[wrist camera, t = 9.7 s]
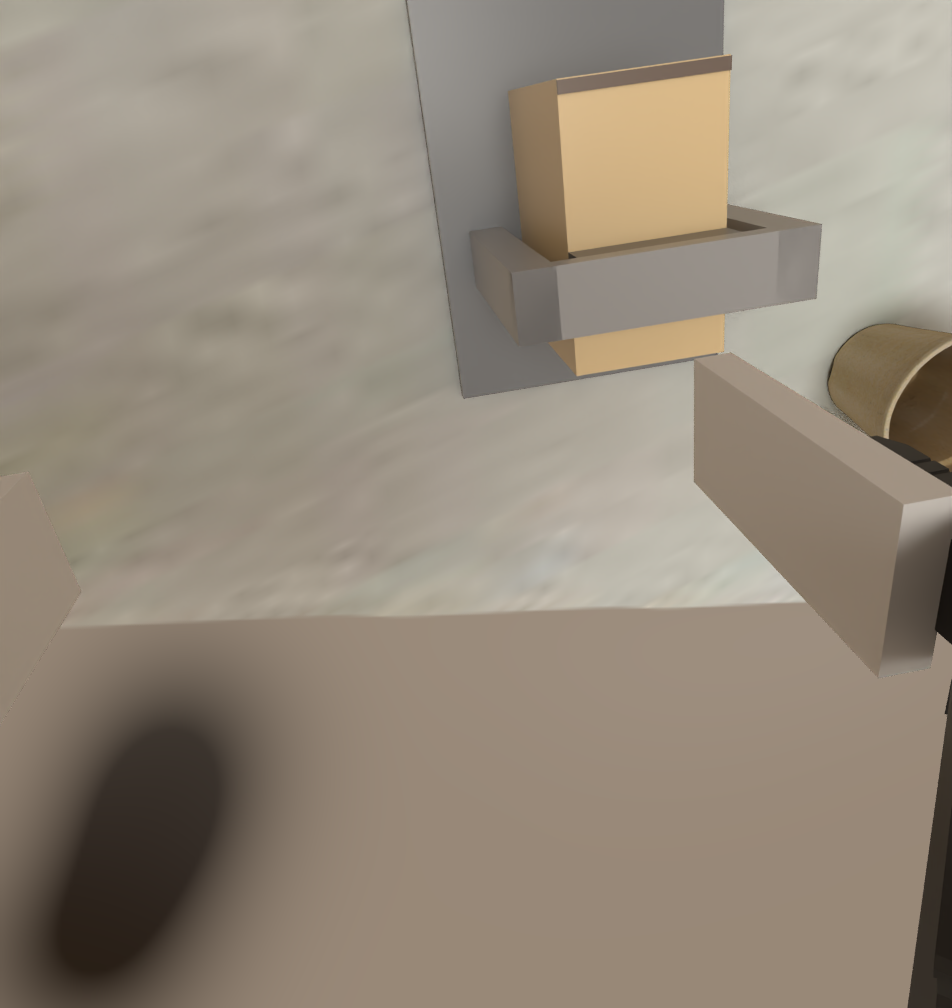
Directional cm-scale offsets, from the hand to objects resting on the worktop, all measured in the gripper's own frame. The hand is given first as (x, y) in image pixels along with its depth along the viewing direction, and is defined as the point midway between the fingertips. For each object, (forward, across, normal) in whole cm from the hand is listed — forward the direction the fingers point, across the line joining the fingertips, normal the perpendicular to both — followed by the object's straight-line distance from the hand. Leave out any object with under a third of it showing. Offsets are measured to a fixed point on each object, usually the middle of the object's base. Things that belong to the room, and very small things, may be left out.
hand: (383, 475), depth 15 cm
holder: (+31, +12, +7) cm, 34 cm away
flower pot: (+31, +31, -12) cm, 45 cm away
